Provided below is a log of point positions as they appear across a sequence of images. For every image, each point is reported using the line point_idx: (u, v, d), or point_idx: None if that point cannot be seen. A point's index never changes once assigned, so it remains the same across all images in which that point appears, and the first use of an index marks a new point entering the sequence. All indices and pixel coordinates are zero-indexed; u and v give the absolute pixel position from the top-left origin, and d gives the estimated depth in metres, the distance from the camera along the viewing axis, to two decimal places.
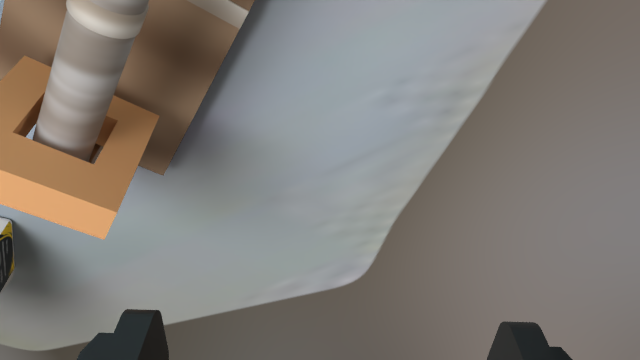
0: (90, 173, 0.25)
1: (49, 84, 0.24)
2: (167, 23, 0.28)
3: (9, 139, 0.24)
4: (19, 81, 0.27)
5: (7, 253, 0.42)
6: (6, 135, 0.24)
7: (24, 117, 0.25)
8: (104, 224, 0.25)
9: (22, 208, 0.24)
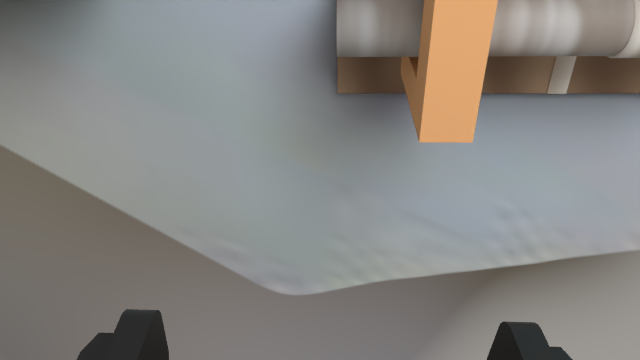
0: None
1: (535, 2, 0.22)
2: None
3: None
4: None
5: None
6: None
7: None
8: (446, 136, 0.22)
9: (434, 54, 0.20)
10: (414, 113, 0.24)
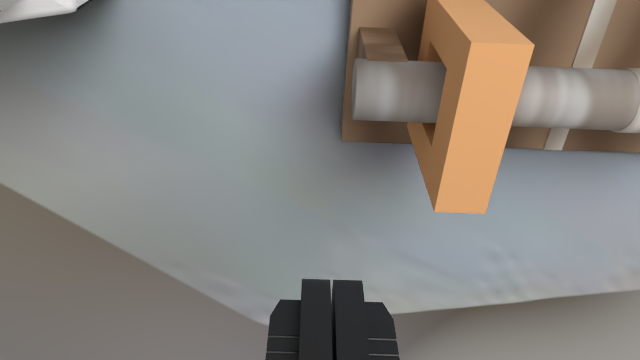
0: None
1: (548, 80, 0.23)
2: None
3: None
4: None
5: None
6: None
7: None
8: (461, 207, 0.23)
9: (456, 134, 0.20)
10: (427, 179, 0.24)
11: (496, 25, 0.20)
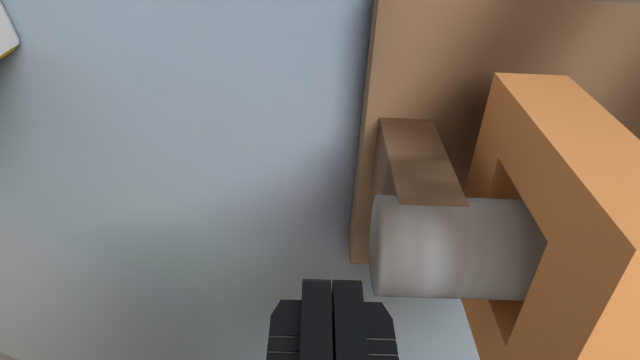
0: None
1: None
2: None
3: None
4: None
5: None
6: None
7: None
8: None
9: None
10: None
11: None
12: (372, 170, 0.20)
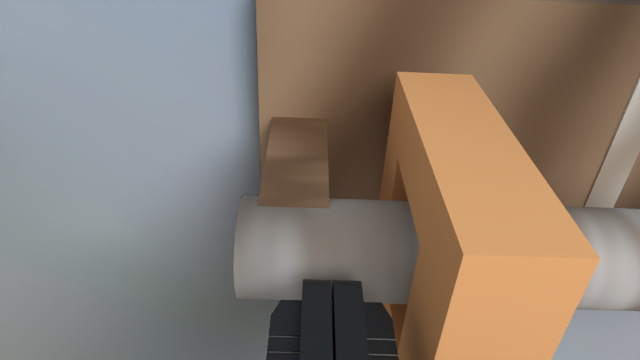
0: None
1: None
2: None
3: None
4: None
5: None
6: None
7: None
8: None
9: None
10: None
11: (513, 180, 0.10)
12: None
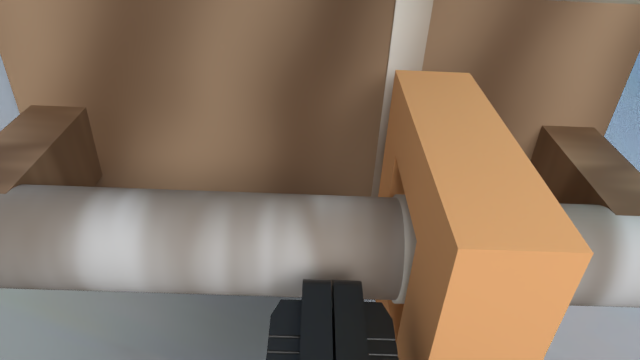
0: None
1: (241, 228, 0.13)
2: None
3: None
4: None
5: None
6: None
7: None
8: None
9: None
10: None
11: (509, 176, 0.11)
12: None
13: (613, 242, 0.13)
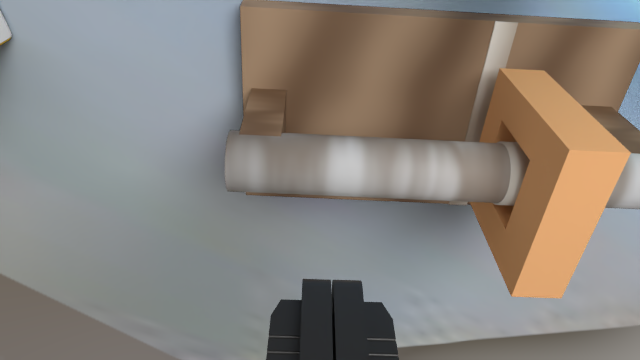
0: None
1: (418, 156, 0.23)
2: None
3: None
4: None
5: None
6: None
7: None
8: (538, 292, 0.23)
9: (543, 229, 0.21)
10: (500, 259, 0.24)
11: (583, 123, 0.21)
12: None
13: (627, 167, 0.23)
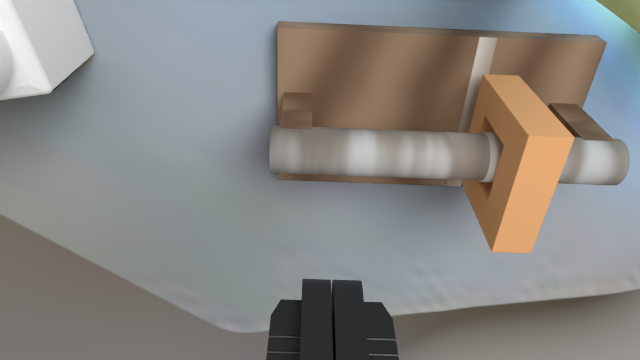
0: None
1: (418, 143, 0.30)
2: None
3: None
4: None
5: None
6: None
7: None
8: (512, 248, 0.29)
9: (513, 197, 0.27)
10: (483, 224, 0.31)
11: (543, 116, 0.27)
12: None
13: (582, 150, 0.30)
